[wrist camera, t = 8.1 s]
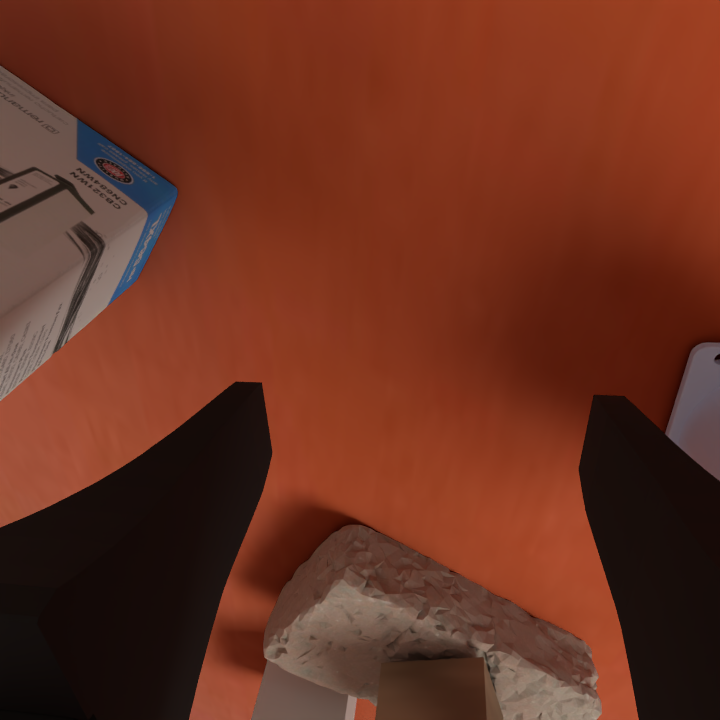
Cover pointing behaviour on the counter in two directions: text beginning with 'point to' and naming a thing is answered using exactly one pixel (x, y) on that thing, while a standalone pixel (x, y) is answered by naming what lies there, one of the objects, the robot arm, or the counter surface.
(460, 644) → the brick
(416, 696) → the walnut block
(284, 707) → the grey block
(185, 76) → the counter surface
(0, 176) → the ink box
